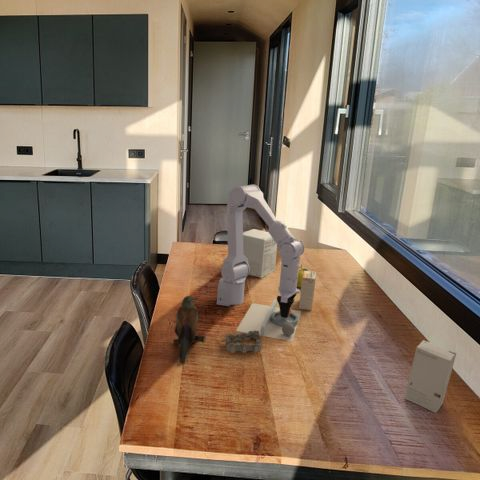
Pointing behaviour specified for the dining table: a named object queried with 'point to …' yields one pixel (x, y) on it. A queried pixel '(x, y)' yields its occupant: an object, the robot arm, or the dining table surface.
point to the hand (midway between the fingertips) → (285, 314)
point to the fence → (268, 317)
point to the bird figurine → (187, 327)
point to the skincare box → (429, 375)
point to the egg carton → (241, 347)
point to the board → (257, 317)
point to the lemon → (300, 276)
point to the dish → (284, 319)
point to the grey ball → (288, 329)
